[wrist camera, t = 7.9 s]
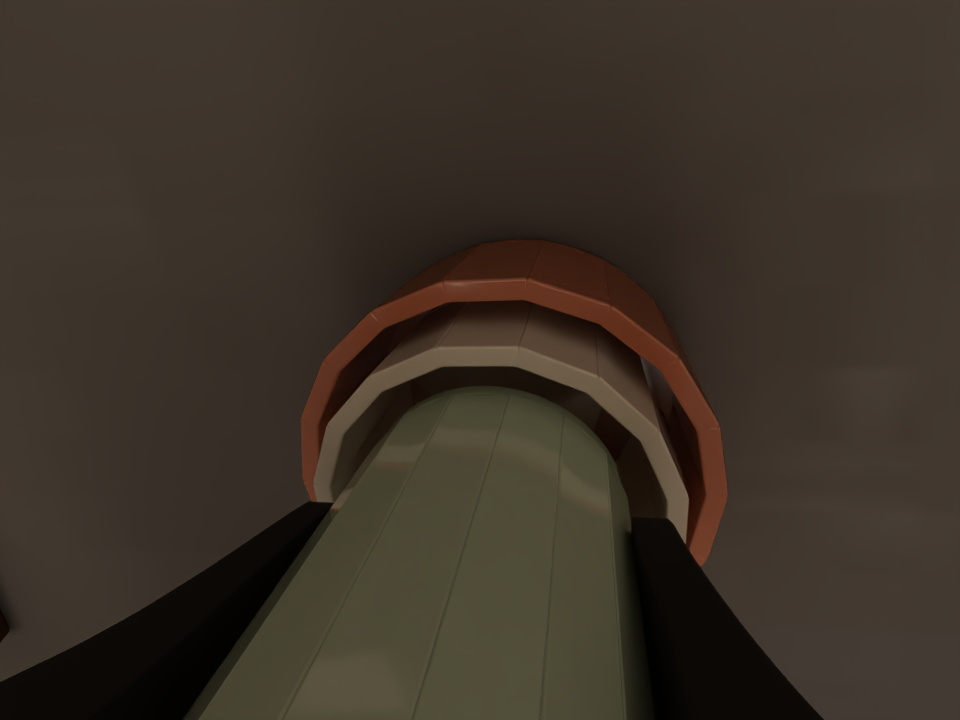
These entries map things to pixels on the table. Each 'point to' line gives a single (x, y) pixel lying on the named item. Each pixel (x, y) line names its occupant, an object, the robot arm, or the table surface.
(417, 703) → the sage cup
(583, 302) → the stack base cup
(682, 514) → the stack top cup
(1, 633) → the pan flute
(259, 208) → the table surface
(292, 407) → the table surface
